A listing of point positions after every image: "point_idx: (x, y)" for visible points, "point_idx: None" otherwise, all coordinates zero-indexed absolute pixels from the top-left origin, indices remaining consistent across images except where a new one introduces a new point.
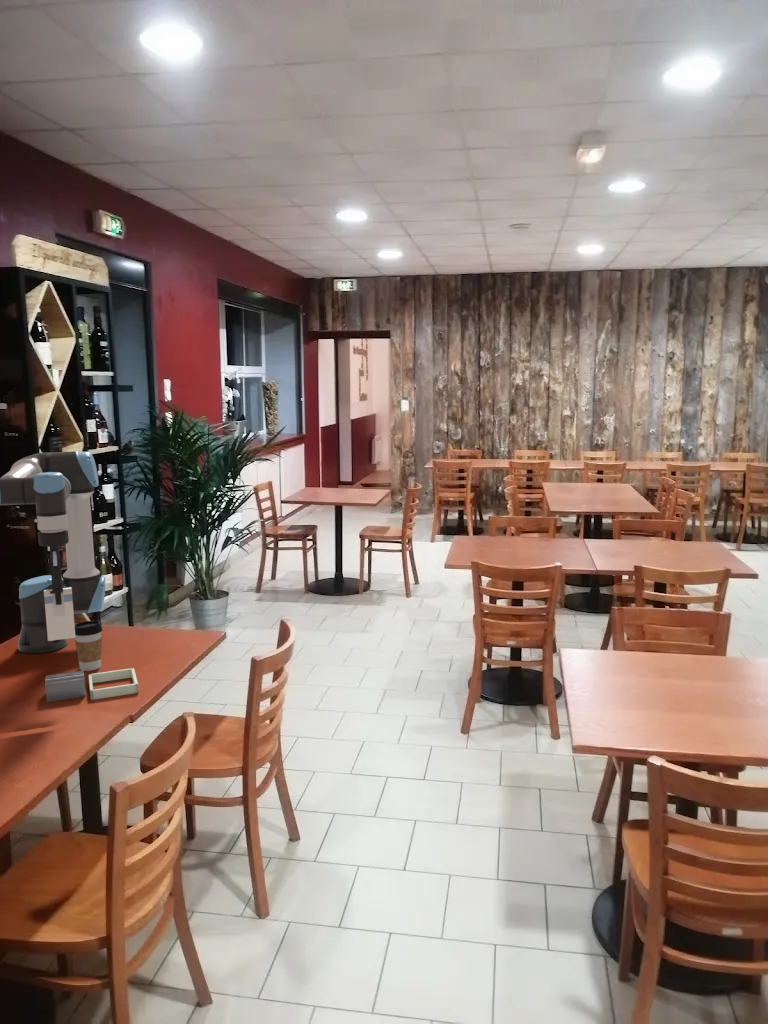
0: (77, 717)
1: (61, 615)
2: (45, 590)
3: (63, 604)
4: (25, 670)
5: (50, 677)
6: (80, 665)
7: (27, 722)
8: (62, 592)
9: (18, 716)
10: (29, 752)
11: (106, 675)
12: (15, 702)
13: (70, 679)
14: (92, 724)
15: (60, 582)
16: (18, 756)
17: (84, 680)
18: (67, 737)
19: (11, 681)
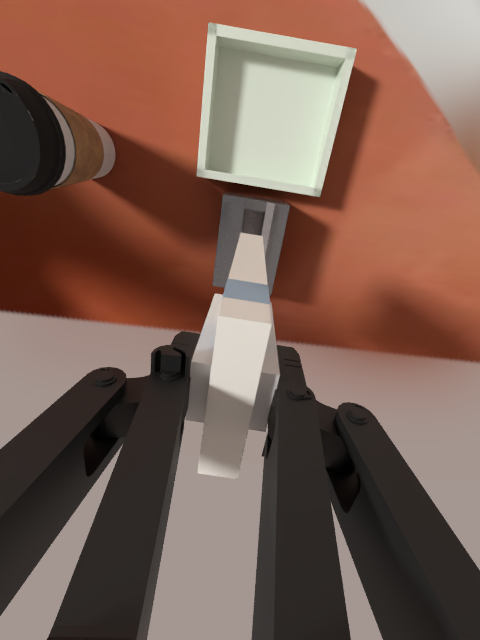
0: (372, 236)
1: None
2: (215, 468)
3: (274, 332)
4: (44, 287)
5: None
6: (93, 178)
7: (330, 319)
8: (302, 385)
9: (292, 328)
10: (460, 333)
11: (209, 126)
12: None
13: (272, 238)
14: (432, 215)
15: (420, 498)
16: (460, 348)
17: (289, 205)
18: (453, 270)
19: (102, 317)
